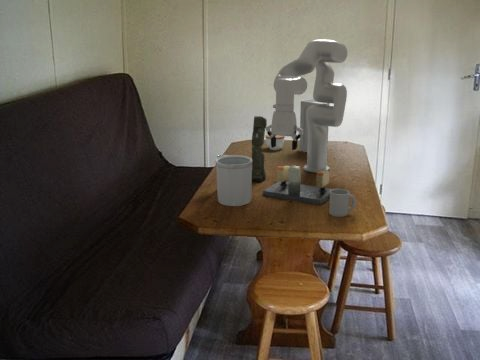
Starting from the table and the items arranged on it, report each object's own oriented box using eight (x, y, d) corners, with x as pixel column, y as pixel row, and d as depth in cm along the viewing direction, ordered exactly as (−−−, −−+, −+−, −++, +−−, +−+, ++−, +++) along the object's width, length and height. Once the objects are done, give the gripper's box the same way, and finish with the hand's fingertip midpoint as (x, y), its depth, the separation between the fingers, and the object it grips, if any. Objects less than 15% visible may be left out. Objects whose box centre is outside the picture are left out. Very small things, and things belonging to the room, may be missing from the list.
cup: (327, 210, 218) (328, 188, 215) (353, 210, 218) (355, 188, 215) (330, 217, 211) (331, 194, 208) (356, 217, 211) (358, 194, 208)
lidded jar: (275, 152, 310) (275, 135, 307) (261, 148, 317) (261, 132, 314) (288, 148, 317) (288, 132, 314) (274, 145, 324) (274, 129, 321)
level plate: (279, 185, 250) (279, 156, 246) (334, 193, 238) (336, 163, 234) (262, 195, 237) (263, 164, 233) (320, 204, 224) (322, 172, 221)
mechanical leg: (262, 183, 250) (265, 115, 249) (246, 182, 252) (249, 115, 250) (267, 181, 264) (270, 117, 262) (252, 181, 265) (254, 117, 263)
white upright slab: (301, 146, 322) (302, 97, 314) (327, 147, 319) (329, 98, 310) (297, 154, 304) (298, 102, 296) (325, 155, 301) (327, 103, 293)
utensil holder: (240, 209, 220) (239, 166, 215) (209, 202, 228) (208, 161, 223) (259, 199, 232) (259, 157, 227) (229, 193, 240) (228, 153, 235)
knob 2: (323, 186, 240) (323, 167, 237) (329, 187, 238) (329, 168, 236) (316, 191, 233) (316, 172, 231) (322, 192, 232) (322, 173, 229)
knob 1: (284, 180, 248) (284, 162, 246) (290, 181, 247) (290, 163, 244) (276, 185, 241) (277, 167, 239) (282, 186, 240) (282, 167, 238)
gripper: (262, 108, 236) (261, 147, 240) (300, 111, 228) (299, 152, 232) (270, 105, 242) (269, 144, 247) (307, 108, 234) (306, 148, 239)
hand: (283, 148), depth 240 cm, fingers open, 9 cm apart
